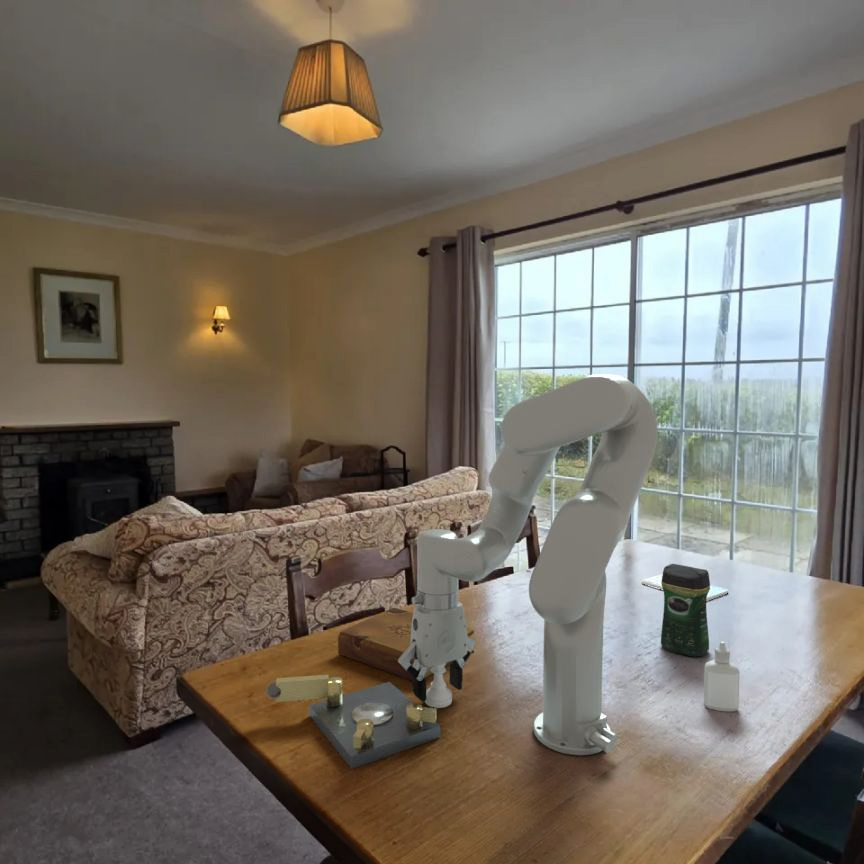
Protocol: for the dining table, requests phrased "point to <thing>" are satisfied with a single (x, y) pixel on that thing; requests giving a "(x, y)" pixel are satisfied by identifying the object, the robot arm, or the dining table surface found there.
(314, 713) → the levelling plate
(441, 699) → the chess pawn
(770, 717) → the dining table surface
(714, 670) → the eye dropper bottle
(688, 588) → the coffee jar
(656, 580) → the calculator
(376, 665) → the diary
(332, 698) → the brass lever
